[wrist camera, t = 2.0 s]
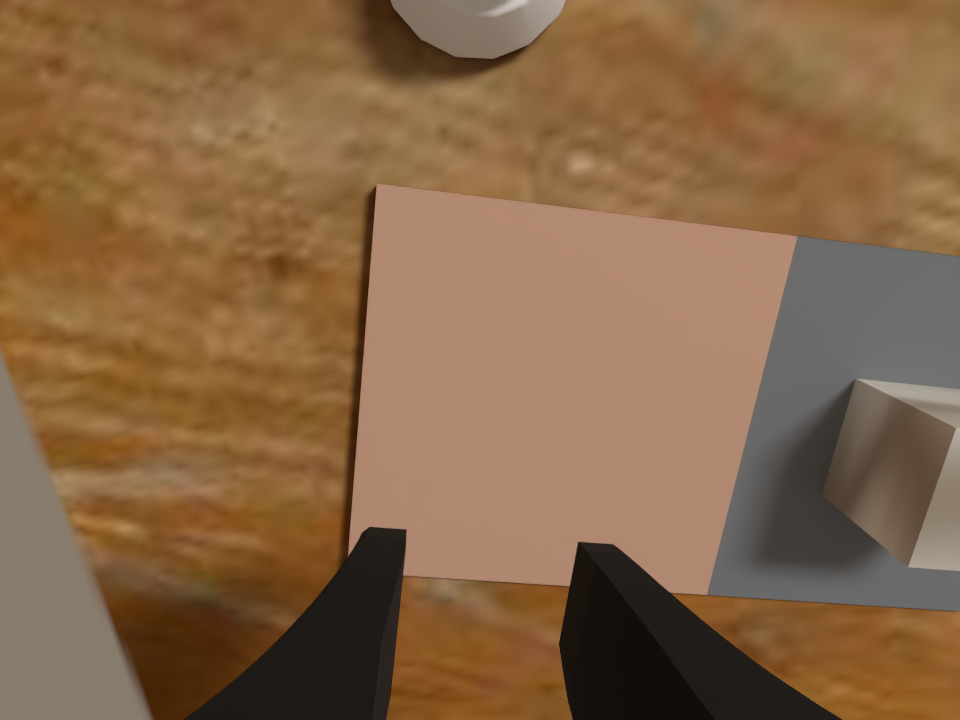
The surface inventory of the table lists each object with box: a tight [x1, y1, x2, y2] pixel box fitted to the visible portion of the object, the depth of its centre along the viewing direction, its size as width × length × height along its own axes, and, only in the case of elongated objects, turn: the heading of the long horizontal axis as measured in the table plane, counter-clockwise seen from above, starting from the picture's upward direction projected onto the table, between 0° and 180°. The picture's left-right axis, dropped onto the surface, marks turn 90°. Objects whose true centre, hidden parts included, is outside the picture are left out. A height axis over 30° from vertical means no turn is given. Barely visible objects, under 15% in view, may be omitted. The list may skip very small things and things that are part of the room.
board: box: [348, 184, 960, 611], centre depth 20 cm, size 12×22×1 cm, turn 83°
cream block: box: [822, 379, 960, 571], centre depth 19 cm, size 4×4×4 cm
